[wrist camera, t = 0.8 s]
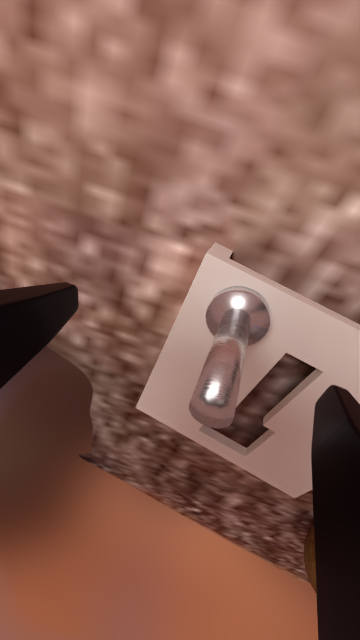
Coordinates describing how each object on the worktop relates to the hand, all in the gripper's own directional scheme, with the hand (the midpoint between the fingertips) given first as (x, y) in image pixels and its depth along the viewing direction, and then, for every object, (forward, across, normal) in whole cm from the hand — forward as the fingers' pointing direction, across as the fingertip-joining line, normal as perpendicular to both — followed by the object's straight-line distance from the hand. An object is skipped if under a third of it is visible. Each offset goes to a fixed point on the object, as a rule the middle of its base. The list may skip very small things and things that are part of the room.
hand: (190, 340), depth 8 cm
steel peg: (+10, -2, +4) cm, 10 cm away
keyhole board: (+12, -6, +12) cm, 18 cm away
